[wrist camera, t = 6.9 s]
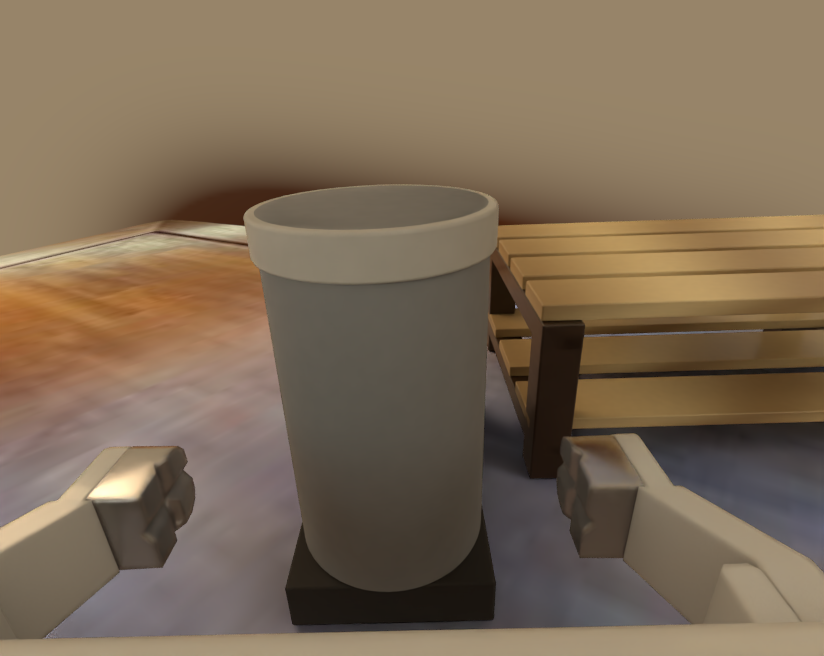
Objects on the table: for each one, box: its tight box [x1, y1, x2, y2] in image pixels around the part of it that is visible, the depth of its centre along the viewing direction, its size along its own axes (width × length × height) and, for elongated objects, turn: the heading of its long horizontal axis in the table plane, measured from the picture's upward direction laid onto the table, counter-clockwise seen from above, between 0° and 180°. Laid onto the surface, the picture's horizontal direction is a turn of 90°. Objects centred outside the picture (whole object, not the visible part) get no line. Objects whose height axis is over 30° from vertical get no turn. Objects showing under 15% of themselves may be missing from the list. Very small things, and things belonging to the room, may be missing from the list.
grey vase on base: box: [244, 185, 499, 625], centre depth 16 cm, size 11×6×11 cm, turn 0°
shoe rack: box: [487, 215, 824, 479], centre depth 22 cm, size 18×12×7 cm, turn 90°
